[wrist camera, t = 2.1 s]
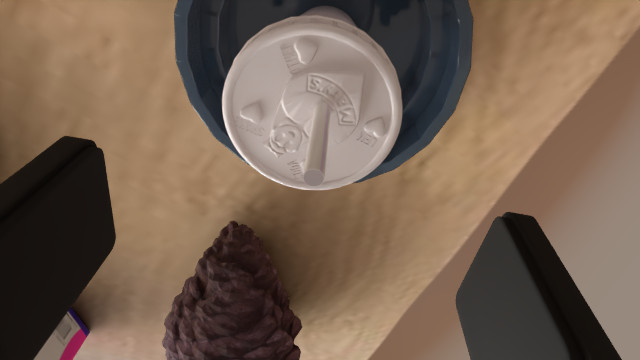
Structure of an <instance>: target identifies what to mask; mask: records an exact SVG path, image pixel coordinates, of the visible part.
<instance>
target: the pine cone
mask: <svg viewBox="0 0 640 360" xmlns="http://www.w3.org/2000/svg"><path fill="white" fill-rule="evenodd" d="M288 297H289V296H288V293H287V292H286V291H285V289H283V284H282V283H281V281H280V280H279V278H278V271H277V270H276V268H275V267H274V266H273V264H272V263H271V261H270V256H269V255H268V254H267V253H265V252H263V243H262V240H260V239H259V238H258V237H257V236H255V235H254V231H253V230H252V229H251V228H248V227H247V225H243V224H241V225H240V226H239V225H238V223H237V222H235V221H230V223H229V224H228V225H227V226H226V227H225V228H223V229H222V230H221V232H220V236H219V237H218V238H216V239H215V240H214V242H213V245H212V246H211V247H209V248H208V249H207V250H206V251H205V252H204V255H203V258H201V259H200V260H199V262H198V264H197V267H196V273H195V275H194V276H193V277H190V278H188V279H187V280H186V281H185V284H184V287H183V290H182V293H181V294H179V295H178V296H176V297H175V299H174V302H173V304H172V311H171V312H170V313H169V315H168V316H167V318H166V319H165V323H164V325H165V327H166V333H165V337H164V339H163V341H162V342H163V347H164V348H165V349H166V354H165V355H166V358H167V360H299V358H300V353H301V351H300V349H299V347H298V346H296V345H295V344H294V339H295V337H296V336H297V335H298V333H299V332H300V330H301V328H302V325H301V321H300V319H299V318H298V317H296V316H294V313H293V311H292V310H291V309H290V308H289V302H290V300H288Z"/></svg>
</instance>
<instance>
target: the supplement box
mask: <svg viewBox="0 0 640 360" xmlns="http://www.w3.org/2000/svg"><path fill="white" fill-rule="evenodd" d="M89 333H90V332H89V330H88V329H87V327H86V326H85V325H84V323H83V322H82V321H81V319H80V318H79V317H78V315H77V314H76V313H75V311H74V310H73V309H72V307H71V308H70V309H69V311H68V312H67V314H66V315H65V316H64V318H63V319H62V321H61V322H60V323H59V325H58V326H57V328H56V329H55V330H54V332H53V333H52V335H51V336H50V337H49V339H48V340H47V342H46V343H45V344H44V346H43V347H42V349H41V350H40V351H39V353H38V354H37V356H36V357H35V358H34V360H73V358H74V356H75V355H76V353H77V352H78V350H79V349H80V347H81V345H82V344H83V342H84V341H85V339H86V337H87V336H88V334H89Z"/></svg>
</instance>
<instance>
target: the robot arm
mask: <svg viewBox="0 0 640 360" xmlns="http://www.w3.org/2000/svg"><path fill="white" fill-rule="evenodd" d="M115 239H116V234H115V227H114V221H113V214H112V207H111V200H110V193H109V187H108V180H107V173H106V166H105V160H104V154H103V151H102V149H100V148H97V146H96V144H95V142H94V141H92V140H88V139H82V138H76V137H70V136H64V137H62V138H60V139H59V140H58V141H56V142H55V143H54V144H52V145H51V146H50V147H49V148H47V149H46V150H45V151H43V152H42V153H41V154H39V155H38V156H37V157H35V158H34V159H33V160H32V161H30V162H29V163H28V164H26V165H25V166H24V167H22V168H21V169H20V170H18V171H17V172H16V173H15V174H13V175H12V176H11V177H9V178H8V179H7V180H5V181H4V182H3V183H1V184H0V360H34V358H35V357H36V356H37V354H38V353H39V351H40V350H41V349H42V347H43V346H44V344H45V343H46V342H47V340H48V339H49V337H50V336H51V335H52V333H53V332H54V330H55V329H56V328H57V326H58V325H59V323H60V322H61V321H62V319H63V318H64V316H65V315H66V314H67V312H68V311H69V309H70V308H71V307H72V305H73V304H74V302H75V301H76V300H77V298H78V297H79V296H80V294H81V293H82V291H83V290H84V289H85V287H86V286H87V284H88V283H89V282H90V280H91V279H92V277H93V276H94V275H95V273H96V272H97V270H98V269H99V268H100V266H101V265H102V263H103V262H104V261H105V259H106V258H107V256H108V255H109V254H110V252H111V251H112V249H113V247H114V244H115ZM456 307H457V311H458V314H459V319H460V322H461V326H462V329H463V333H464V336H465V341H466V344H467V347H468V352H469V355H470V359H471V360H622V359H621V358H620V356H619V354H618V353H617V351H616V350H615V348H614V346H613V345H612V343H611V342H610V340H609V338H608V337H607V335H606V333H605V332H604V330H603V329H602V327H601V325H600V324H599V322H598V320H597V319H596V317H595V315H594V314H593V312H592V310H591V309H590V307H589V306H588V304H587V302H586V301H585V299H584V298H583V296H582V294H581V293H580V291H579V290H578V288H577V286H576V285H575V283H574V281H573V280H572V278H571V276H570V275H569V273H568V271H567V270H566V268H565V267H564V265H563V263H562V262H561V260H560V258H559V257H558V255H557V253H556V252H555V250H554V248H553V247H552V245H551V244H550V242H549V240H548V239H547V237H546V236H545V234H544V232H543V231H542V229H541V227H540V226H539V224H538V222H537V221H536V219H535V218H534V217H532V216H529V215H523V214H517V213H511V212H506V213H505V214H504V215H503V216H502V217H497V218H495V220H494V221H493V223H492V225H491V227H490V229H489V231H488V233H487V235H486V237H485V239H484V241H483V243H482V245H481V246H480V249H479V251H478V252H477V254H476V256H475V258H474V260H473V262H472V264H471V266H470V268H469V270H468V272H467V274H466V276H465V278H464V280H463V282H462V284H461V286H460V288H459V290H458V292H457V295H456Z"/></svg>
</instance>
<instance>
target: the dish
mask: <svg viewBox="0 0 640 360" xmlns="http://www.w3.org/2000/svg"><path fill="white" fill-rule="evenodd" d="M318 6H332V7H336V8H338V9H340V10H342V11H344V12H345V13H346V14H347V15H349V17H350V18H351V19H352V20H353V22H354V23H355V24H356V26H357V27H358V29H360V30H362V31H364V32H365V33H367V34H368V35H369V36H370V37H371V38H372V39H373V40H374V41H375V42H376V43H377V44H378V45H380V46H381V47H382V48H383V50H384V51H385V53H386V55H387V56H388V58H389V59H390V61H391V63H392V64H393V66H394V68H395V70H396V73H397V77H398V81H399V84H400V88H401V98H402V122H401V127H400V131H399V134H398V137H397V139H396V142H395V144H394V146H393V148H392V149H391V151H390V153H389V154H388V155H387V157H386V158H385V159H384V160H383V161H382V163H381V164H380V165H379V166H378V167H377V168H375V169H374V170H373V171H372V172H371V173H369V174H368V175H366V176H365V177H363V178H361V179H360V180H358V181H356V182H353V183H358V182H362V181H365V180H367V179H370V178H373V177H375V176H378V175H381V174H384V173H386V172H389V171H392V170H394V169H395V168H397V167H399V166H400V165H401V164H403V163H404V162H405V161H407V160H408V159H410V158H411V157H412V156H414V155H415V154H416V153H418V152H419V151H421V150H422V149H423V148H425V147H426V146H427V145H429V144H430V142H431V141H432V140H433V138H434V137H435V136H436V134H437V133H438V132H439V131H440V129H441V128H442V127H443V125H444V124H445V123H446V122H447V120H448V119H449V118H450V116H451V115H452V114H453V112H454V111H455V109H456V106H457V104H458V101H459V98H460V96H461V93H462V90H463V88H464V85H465V82H466V80H467V77H468V74H469V72H470V68H471V57H472V37H473V16H472V13H471V9H470V6H469V2H468V0H178V2H177V5H176V8H175V12H174V25H175V52H176V63H177V66H178V69H179V72H180V75H181V78H182V80H183V83H184V86H185V89H186V92H187V95H188V98H189V101H190V103H191V105H192V106H193V108H194V109H195V111H196V112H197V113H198V115H199V116H200V118H201V119H202V120H203V122H204V123H205V125H206V126H207V127H208V129H209V130H210V132H211V133H212V135H213V136H214V137H216V139H217V140H218V141H219V142H221V143H222V144H223V145H224V146H225V147H227V148H228V149H229V150H230V151H232V152H233V153H234V154H235V155H236V156H238V157H239V158H240V159H241V160H242V161H244V162H245V163H247V162H246V161H245V160H244V158H243V157H242V156H241V155H240V154H239V152H238V151H237V149H236V148H235V146H234V145H233V143H232V141H231V139H230V137H229V135H228V132H227V130H226V127H225V123H224V119H223V112H222V94H223V88H224V84H225V81H226V77H227V75H228V73H229V70H230V68H231V67H232V64H233V61H234V59H235V58H236V56H237V55H238V53H239V52H240V51H241V49H242V48H243V46H244V45H245V44H246V42H247V41H248V40H249V39H251V38H252V37H253V36H254V35H256V34H257V33H258V32H260V31H261V30H262V29H264V28H265V27H266V26H268V25H271V24H273V23H276V22H279V21H281V20H284V19H287V18H289V17H297V16H300V15H302V14H303V13H305V12H306V11H308V10H309V9H312V8H314V7H318ZM247 164H248V163H247ZM248 165H249V164H248ZM250 166H251V165H250Z"/></svg>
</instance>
